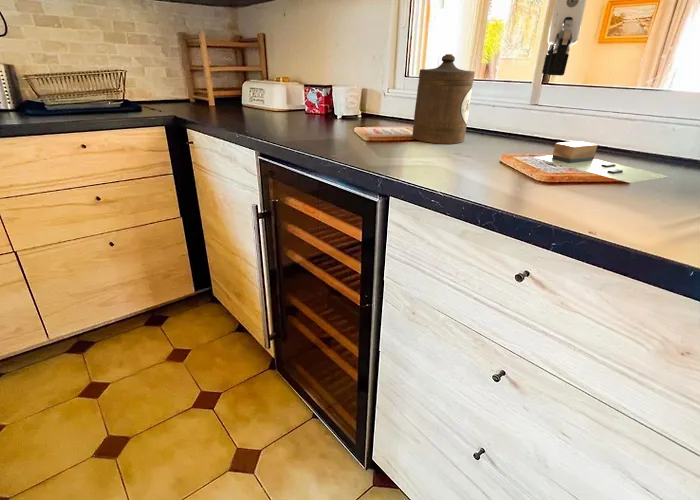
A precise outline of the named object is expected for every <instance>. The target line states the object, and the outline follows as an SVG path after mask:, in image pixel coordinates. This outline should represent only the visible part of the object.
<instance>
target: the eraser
mask: <svg viewBox="0 0 700 500" xmlns="http://www.w3.org/2000/svg"><path fill="white" fill-rule="evenodd" d="M597 148H598V144H596V143H592V142H586V141H581V140H575V141H564V142H555V144H554V148H553V153H552V155H553V156H552V159H554V160H558V161H562V162H566V163H576V162H584V161H592V160H593V159H595V155H596V152H597V150H598V149H597Z"/></svg>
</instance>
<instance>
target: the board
mask: <svg viewBox="0 0 700 500" xmlns="http://www.w3.org/2000/svg"><path fill="white" fill-rule="evenodd" d="M552 156H553V154H552V155H551V154H550V155H542V156H533V157H532V158H533V159H537V160H541V161H543V162H544V161H545V162H548V163H551V164H555V165H560V166H563V167H567V168H571V169H575V170H578V171H582V172H585V173H589V174H594V175H597V176H601V177H604V178H609V179H613V180H616V181H620V182H625V183H627V184H633V183H639V182H645V181H652V180H657V179H663V178H668V177H670V176H669V175H667V174H661V173H657V172H653V171H650V170H649V171H648V170H644V169H640V168H637V167H636V168H635V167H633V166H632V167H631V166H627V165H622V164H618V163H614V162H609V161H605V160H601V159H598V158H594V159H593V160H592V161H584V162H576V163H566V162H562V161H558V160H554V159H552ZM608 163H612V164H616V165H615V166H612V167H603V166H601V165H602V164H608ZM615 169H619V170H623V172H622V173H615V174H612V173H608V170H615Z"/></svg>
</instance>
